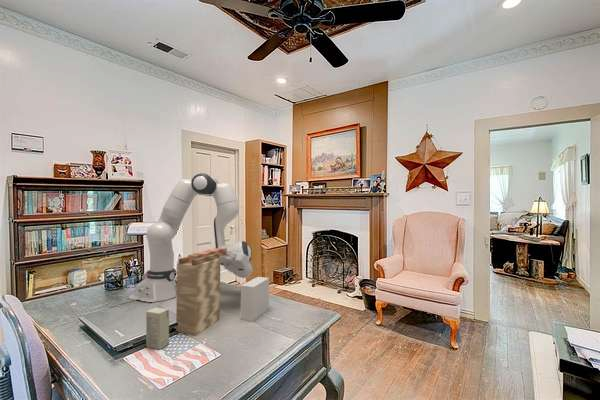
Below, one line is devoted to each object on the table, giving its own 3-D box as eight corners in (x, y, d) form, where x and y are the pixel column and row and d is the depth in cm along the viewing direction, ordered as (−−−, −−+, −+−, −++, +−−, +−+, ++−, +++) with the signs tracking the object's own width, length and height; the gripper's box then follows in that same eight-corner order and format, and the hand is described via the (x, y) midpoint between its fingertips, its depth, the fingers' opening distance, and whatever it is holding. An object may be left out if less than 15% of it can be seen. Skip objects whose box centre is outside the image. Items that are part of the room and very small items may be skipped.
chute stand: (201, 316, 122) (203, 252, 122) (219, 319, 119) (220, 253, 119) (176, 331, 108) (177, 258, 108) (195, 335, 105) (196, 260, 105)
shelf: (257, 307, 134) (257, 276, 134) (268, 309, 132) (269, 278, 132) (240, 319, 120) (241, 285, 120) (252, 321, 118) (253, 287, 118)
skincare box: (169, 343, 99) (170, 309, 99) (159, 350, 94) (160, 313, 95) (155, 340, 101) (156, 306, 101) (145, 346, 97) (145, 310, 97)
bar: (219, 253, 129) (219, 247, 129) (226, 254, 127) (226, 248, 127) (188, 262, 110) (188, 255, 110) (196, 263, 109) (196, 255, 109)
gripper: (216, 254, 141) (201, 243, 130) (252, 257, 134) (239, 246, 123) (212, 266, 138) (196, 256, 127) (249, 270, 131) (235, 260, 120)
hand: (217, 251), depth 125 cm, fingers open, 8 cm apart
